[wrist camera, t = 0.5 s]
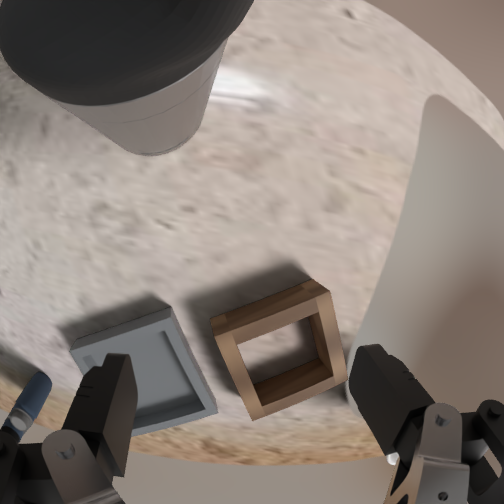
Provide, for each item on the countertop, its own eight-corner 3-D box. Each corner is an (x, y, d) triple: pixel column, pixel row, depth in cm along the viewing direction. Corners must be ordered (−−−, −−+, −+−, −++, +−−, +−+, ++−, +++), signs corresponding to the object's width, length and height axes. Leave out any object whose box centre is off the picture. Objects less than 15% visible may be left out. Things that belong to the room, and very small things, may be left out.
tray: (76, 339, 27) (69, 351, 25) (171, 306, 29) (170, 317, 26) (129, 423, 30) (127, 437, 28) (215, 398, 32) (218, 412, 29)
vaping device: (22, 388, 26) (-15, 452, 15) (39, 366, 27) (-2, 434, 15) (38, 402, 27) (6, 469, 16) (56, 381, 27) (22, 453, 16)
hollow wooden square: (209, 318, 30) (214, 336, 26) (312, 279, 31) (330, 291, 27) (244, 399, 32) (252, 421, 29) (332, 362, 34) (348, 379, 30)
